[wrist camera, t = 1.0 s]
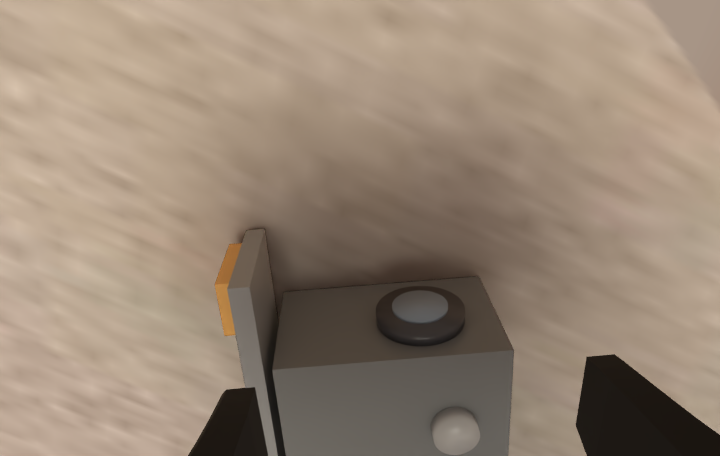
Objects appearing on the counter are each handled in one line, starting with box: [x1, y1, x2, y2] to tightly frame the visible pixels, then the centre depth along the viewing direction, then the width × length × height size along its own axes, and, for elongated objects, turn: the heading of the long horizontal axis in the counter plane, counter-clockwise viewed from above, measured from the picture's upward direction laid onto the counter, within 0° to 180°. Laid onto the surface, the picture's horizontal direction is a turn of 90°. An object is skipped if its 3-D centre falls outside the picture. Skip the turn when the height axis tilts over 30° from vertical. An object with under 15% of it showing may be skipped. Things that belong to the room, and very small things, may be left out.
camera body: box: [272, 276, 514, 456], centre depth 23 cm, size 11×8×6 cm
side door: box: [215, 229, 286, 456], centre depth 23 cm, size 14×1×4 cm, turn 4°
